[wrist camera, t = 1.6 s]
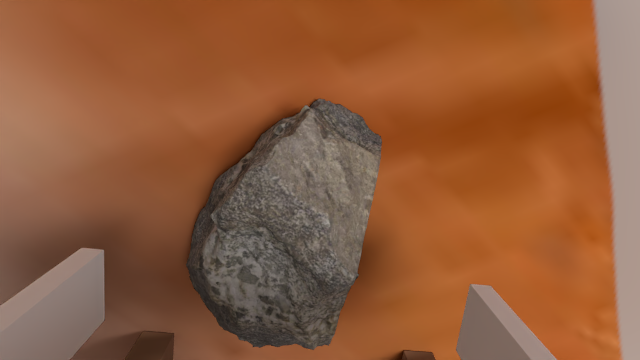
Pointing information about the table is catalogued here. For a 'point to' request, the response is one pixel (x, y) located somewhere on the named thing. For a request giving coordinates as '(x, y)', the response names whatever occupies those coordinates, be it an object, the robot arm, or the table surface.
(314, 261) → the rock
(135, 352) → the stand
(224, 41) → the table surface
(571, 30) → the table surface
